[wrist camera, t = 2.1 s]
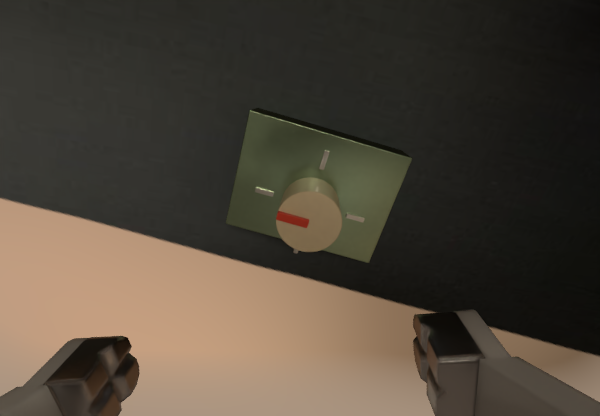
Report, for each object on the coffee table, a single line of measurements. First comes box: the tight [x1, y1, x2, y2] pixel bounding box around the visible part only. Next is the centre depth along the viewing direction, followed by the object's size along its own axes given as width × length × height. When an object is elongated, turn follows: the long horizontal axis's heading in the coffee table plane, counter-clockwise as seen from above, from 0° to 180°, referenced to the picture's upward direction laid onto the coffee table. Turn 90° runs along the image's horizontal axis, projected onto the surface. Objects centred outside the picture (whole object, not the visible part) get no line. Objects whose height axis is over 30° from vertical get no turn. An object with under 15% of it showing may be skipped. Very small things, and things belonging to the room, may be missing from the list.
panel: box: [226, 108, 412, 263], centre depth 25 cm, size 12×10×3 cm
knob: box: [276, 177, 342, 252], centre depth 22 cm, size 4×4×4 cm
